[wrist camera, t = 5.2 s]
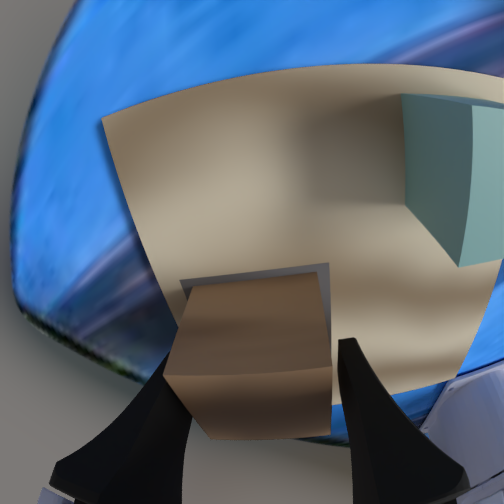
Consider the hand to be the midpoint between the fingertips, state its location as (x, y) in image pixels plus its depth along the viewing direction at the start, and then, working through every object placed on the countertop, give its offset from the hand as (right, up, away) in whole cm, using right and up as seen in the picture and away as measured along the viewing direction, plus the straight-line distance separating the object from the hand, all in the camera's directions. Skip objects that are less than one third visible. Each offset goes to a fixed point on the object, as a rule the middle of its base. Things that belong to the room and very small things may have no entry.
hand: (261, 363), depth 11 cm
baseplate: (+4, +3, +1) cm, 5 cm away
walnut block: (0, +1, +2) cm, 2 cm away
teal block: (+7, +8, -3) cm, 11 cm away
